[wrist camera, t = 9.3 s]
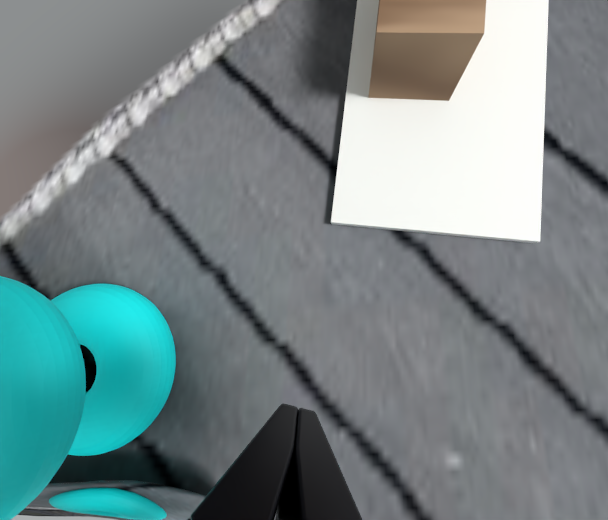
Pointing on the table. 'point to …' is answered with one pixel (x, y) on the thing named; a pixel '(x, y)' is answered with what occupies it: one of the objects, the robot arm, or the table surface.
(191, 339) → the table surface
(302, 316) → the table surface
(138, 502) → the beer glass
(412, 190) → the white mat
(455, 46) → the walnut block
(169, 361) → the donuts
